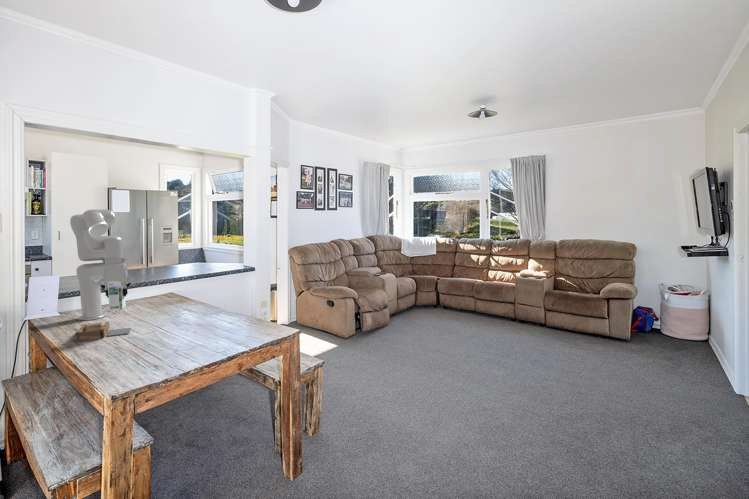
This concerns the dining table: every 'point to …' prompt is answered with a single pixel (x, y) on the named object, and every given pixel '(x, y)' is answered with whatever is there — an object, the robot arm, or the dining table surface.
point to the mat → (119, 332)
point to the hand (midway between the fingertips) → (116, 296)
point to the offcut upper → (93, 325)
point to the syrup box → (116, 295)
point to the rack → (91, 333)
